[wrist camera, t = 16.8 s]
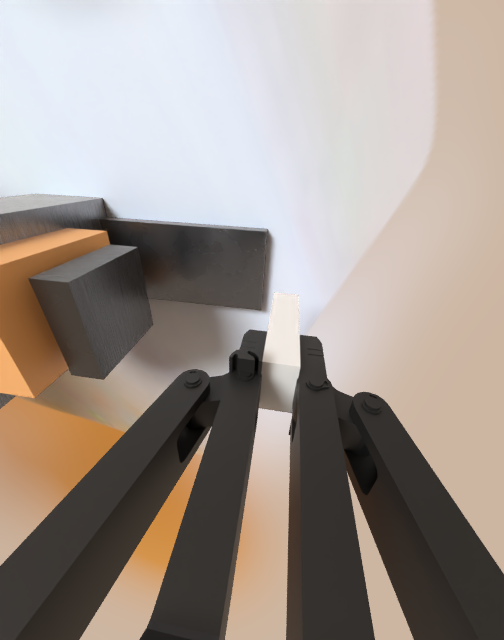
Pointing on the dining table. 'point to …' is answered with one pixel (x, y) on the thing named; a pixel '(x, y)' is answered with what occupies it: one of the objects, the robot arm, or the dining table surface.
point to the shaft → (95, 308)
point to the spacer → (34, 308)
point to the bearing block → (154, 249)
